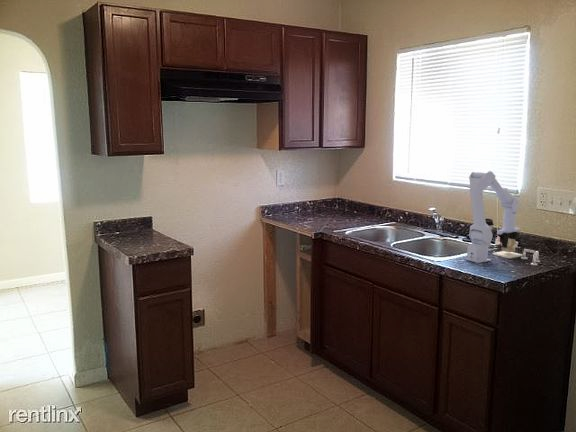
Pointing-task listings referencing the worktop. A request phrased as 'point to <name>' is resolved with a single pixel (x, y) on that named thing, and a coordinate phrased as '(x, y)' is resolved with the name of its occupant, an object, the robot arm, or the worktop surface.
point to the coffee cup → (490, 224)
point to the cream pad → (507, 254)
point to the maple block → (509, 246)
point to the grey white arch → (535, 256)
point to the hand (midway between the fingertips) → (507, 246)
